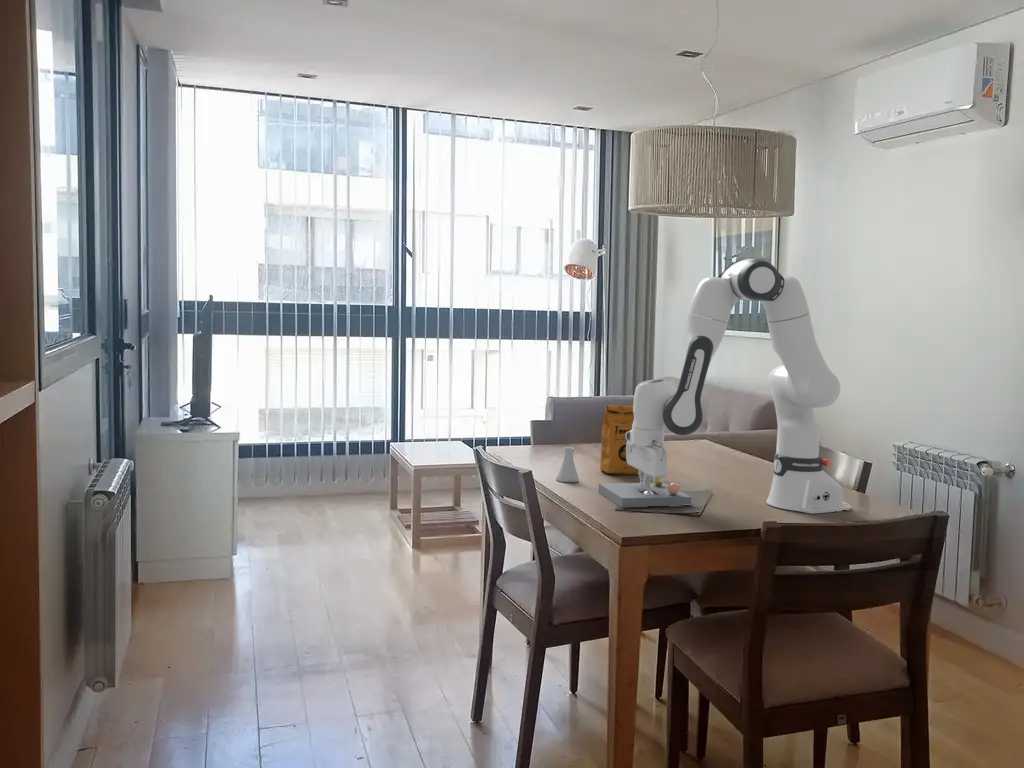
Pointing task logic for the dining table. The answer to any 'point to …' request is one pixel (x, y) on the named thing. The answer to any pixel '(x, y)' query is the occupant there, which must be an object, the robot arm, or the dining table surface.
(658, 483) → the brass ball
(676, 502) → the seat plate
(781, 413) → the robot arm
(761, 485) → the dining table surface
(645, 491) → the steel ball
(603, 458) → the coffee package
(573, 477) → the flask
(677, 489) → the terracotta ball
